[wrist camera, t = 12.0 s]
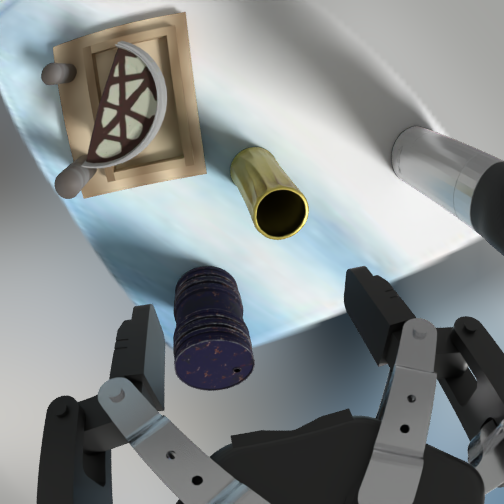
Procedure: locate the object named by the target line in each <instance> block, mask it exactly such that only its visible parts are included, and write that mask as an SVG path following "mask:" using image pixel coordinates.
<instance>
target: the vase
mask: <svg viewBox="0 0 504 504" xmlns="http://www.w3.org/2000/svg"><path fill="white" fill-rule="evenodd" d="M230 173H231V178H232V181H233V182H234V184H235V185H236V186H237V187H238V189H239V191H240V193H241V195H242V197H243V199H244V201H245V203H246V205H247V208H248V210H249V213H250V215H251V218H252V221H253V223H254V225H255V228H256V229H257V230H258V231H259V232H260V233H261V234H262V235H264V236H265V237H267V238H269V239H274V240H281V239H285V238H288V237H291V236H293V235H295V234H296V233H297V232H298V231H299V230H300V229H301V228H302V227H303V226H304V224H305V222H306V220H307V218H308V212H309V207H308V203H307V200H306V198H305V196H304V195H303V194H302V192H301V191H300V190H299V189H298V188H297V187H296V185H295V184H294V183H293V182H292V181H291V179H290V178H289V177H288V176H287V175H286V173H285V172H284V171H283V169H282V168H281V167H280V166H279V164H278V163H277V161H276V160H275V158H274V156H273V155H272V154H271V153H270V152H269V151H267V150H265V149H263V148H260V147H250V148H247V149H244V150H243V151H241V152H239V153H238V154H237V155H236V156H235V158H234V159H233V161H232V164H231V168H230Z"/></svg>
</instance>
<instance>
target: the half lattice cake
mask: <svg viewBox="0 0 504 504" xmlns="http://www.w3.org/2000/svg"><path fill="white" fill-rule="evenodd" d="M115 46H116V47H117V48H118V49H117V52H116V54H115V57H114V61H113V64H112V67H111V70H110V73H109V76H108V79H107V82H106V85H105V88H104V91H103V94H102V97H101V100H100V103H99V106H98V111H97V115H96V119H95V123H94V128H93V132H92V136H91V141H90V145H89V149H88V154H87V159H86V161H85V162H84V163H83V164H82V165H81V166H83V167H86V168H105V167H111V166H114V165H117V164H120V163H123V162H125V161H127V160H130V159H132V158H133V157H135V156H136V155H138V154H139V153H140V152H142V151H143V150H144V149H145V148H146V147H147V146H148V145H149V144H150V142H151V141H152V140H153V139H154V138H155V136H156V134H157V132H158V131H159V129H160V127H161V124H162V122H163V120H164V116H165V112H166V106H167V89H166V84H165V80H164V77H163V75H162V72H161V70H160V68H159V67H158V65H157V64H156V62H155V61H154V60H153V58H152V57H151V56H150V55H149V54H148V53H146V52H145V51H144V50H142V49H141V48H139V47H137V46H135V45H133V44H131V43H128V42H125V41H120V42H118V44H115Z"/></svg>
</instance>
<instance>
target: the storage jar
mask: <svg viewBox="0 0 504 504" xmlns="http://www.w3.org/2000/svg"><path fill="white" fill-rule="evenodd" d="M174 317H175V321H176V329H175V333H174V337H173V341H174V349H173V350H174V358H175V361H174V364H175V372H176V375H177V376H178V378H179V379H180V380H181V381H182V382H184V383H185V384H187V385H188V386H191V387H193V388H196V389H200V390H208V391H214V390H223V389H228V388H231V387H234V386H235V385H238V384H240V383H242V382H243V381H244V380H246V379H247V378H248V377H249V376H250V374H251V373H252V371H253V369H254V365H255V360H254V356H253V353H252V344H251V340H250V336H249V331H248V328H247V326H246V324H245V323H244V321H243V305H242V301H241V297H240V293H239V291H238V287H237V284H236V281H235V279H234V278H233V277H232V276H231V275H230V274H229V273H228V272H226V271H225V270H223V269H221V268H217V267H212V266H203V267H198V268H194V269H192V270H190V271H188V272H187V273H185V274H184V275H183V276H182V277H181V278H180V279H179V281H178V283H177V285H176V290H175V300H174Z"/></svg>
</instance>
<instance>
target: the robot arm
mask: <svg viewBox="0 0 504 504" xmlns="http://www.w3.org/2000/svg"><path fill="white" fill-rule="evenodd" d="M392 165H393V169H394V171H395V174H396V175H397V176H398V178H400V179H401V180H402V181H404V182H405V183H407V184H408V185H410V186H411V187H413V188H415V189H416V190H417V191H419V192H421V193H422V194H424V195H425V196H427V197H428V198H430V199H431V200H433V201H434V202H436V203H437V204H438V205H440V206H441V207H443V208H444V209H446V210H447V211H449V212H450V213H451V214H453V215H454V216H456V217H457V218H458V219H460V220H461V221H463V222H464V223H465V224H467V225H468V226H469V227H471V228H472V229H473V230H475V231H476V232H477V233H478V234H480V235H481V236H482V237H484V238H485V240H486V241H487V242H488V243H489V244H490V245H492V246H493V247H494V248H495V249H496V250H497V251H499V252H500V253H501V254H502V255H503V256H504V161H503V160H501V159H498V158H497V157H495V156H492V155H490V154H488V153H485V152H483V151H481V150H479V149H476V148H474V147H472V146H469V145H467V144H465V143H462V142H460V141H457V140H455V139H452V138H450V137H447V136H445V135H442V134H440V133H437V132H434V131H432V130H429V129H426V128H423V127H419V126H414V127H410V128H408V129H406V130H405V131H404V132H402V133H401V134H400V136H399V137H398V138H397V140H396V142H395V144H394V147H393V150H392ZM344 304H345V308H346V311H347V313H348V314H349V316H350V318H351V320H352V321H353V323H354V325H355V326H356V328H357V330H358V332H359V333H360V335H361V337H362V338H363V340H364V342H365V344H366V345H367V347H368V349H369V351H370V353H371V354H372V356H373V358H374V360H375V361H376V363H377V365H378V366H383V365H386V364H388V365H389V367H390V370H389V373H388V378H387V381H386V385H385V389H384V393H383V396H382V399H381V403H380V406H379V410H378V413H377V415H376V418H371V417H366V416H352V415H351V412H350V410H349V409H346V410H342V411H339V412H335V413H332V414H328V415H325V416H322V417H319V418H317V419H315V420H314V421H312V422H310V423H308V424H306V425H304V426H302V427H300V428H298V429H296V430H292V431H264V430H261V431H255V432H250V433H244V434H238V435H232V436H231V440H232V444H229V445H227V446H225V447H223V448H221V449H219V450H218V451H216V452H215V453H214V454H213V455H211V456H210V457H209V456H207V455H206V454H205V453H204V452H203V451H202V450H201V449H200V448H198V447H197V446H196V445H195V444H194V443H193V442H192V441H191V440H190V439H189V438H187V436H186V435H184V434H183V433H182V432H181V431H180V430H179V429H178V428H177V427H176V426H175V425H174V424H173V423H172V422H171V421H170V420H169V419H168V418H167V417H166V416H164V415H163V416H162V415H161V414H159V412H158V411H164V374H165V373H164V372H165V339H164V334H163V331H162V328H161V325H160V322H159V320H158V317H157V314H156V312H155V309H154V306H153V305H152V304H148V305H141V306H135V307H134V308H133V314H132V319H131V320H125V321H124V322H123V323H122V325H121V326H120V328H119V329H118V332H117V337H116V343H115V350H114V354H113V359H112V365H111V372H110V378H109V380H108V381H106V382H105V383H104V384H103V385H102V386H101V387H100V389H99V392H98V395H96V396H94V397H91V398H89V399H86V400H83V401H80V402H77V401H76V400H75V399H74V398H73V397H71V396H61V397H58V398H56V399H55V400H53V401H52V402H51V404H50V405H49V407H48V409H47V413H46V419H45V426H44V432H43V439H42V447H41V455H40V464H39V475H38V487H37V504H113V500H112V474H111V449H113V448H115V447H118V446H121V445H124V444H127V443H130V445H131V446H132V447H133V448H134V450H135V451H136V452H137V453H138V455H139V456H140V457H141V458H142V459H143V460H144V462H145V463H146V464H147V465H148V466H149V467H150V468H151V469H152V471H153V472H154V473H155V474H156V475H157V476H158V477H159V478H160V479H161V480H162V481H163V483H164V484H165V485H166V486H167V487H168V488H169V489H170V490H171V491H172V492H173V493H174V494H175V495H176V496H177V497H178V498H179V500H178V502H177V503H176V504H484V500H485V494H487V493H488V492H490V491H491V490H493V489H495V488H496V487H504V353H503V352H502V350H501V349H500V348H499V346H498V345H497V344H496V342H495V341H494V340H493V338H492V337H491V336H490V334H489V333H488V332H487V330H486V329H485V328H484V327H483V325H482V324H481V323H480V322H479V321H478V320H476V319H474V318H472V317H466V316H465V317H460V318H458V319H457V320H456V322H455V324H454V326H453V327H448V328H435V326H434V325H433V324H432V323H430V322H429V321H427V320H425V319H421V318H416V317H415V315H414V314H413V313H412V312H411V310H410V309H409V308H408V306H407V305H406V304H405V303H404V301H403V300H402V299H401V298H400V297H399V295H398V294H397V292H396V291H395V290H393V287H392V286H391V285H390V284H389V282H388V281H386V280H385V279H383V278H382V277H380V276H378V275H376V276H373V275H372V274H371V272H370V271H369V270H368V269H367V267H365V266H361V267H356V268H352V269H348V270H347V272H346V281H345V292H344ZM468 366H469V368H470V369H471V370H472V372H473V374H474V375H475V377H476V379H477V381H476V379H475V378H474V376H473V374H472V373H471V371H470V370H469V368H468ZM436 379H437V380H438V381H439V383H440V385H441V387H442V388H443V390H444V392H445V394H446V396H447V398H448V399H449V401H450V403H451V405H452V407H453V409H454V410H455V412H456V414H457V416H458V418H459V420H460V422H461V424H462V426H463V428H464V430H465V432H466V434H467V436H468V438H469V440H470V443H469V446H468V462H469V463H467V462H465V461H463V460H461V459H458V458H456V457H454V456H452V455H450V454H448V453H445V452H443V451H441V450H439V449H437V448H435V447H433V446H431V445H428V444H426V439H427V435H428V430H429V425H430V419H431V413H432V407H433V401H434V394H435V387H436Z"/></svg>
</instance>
